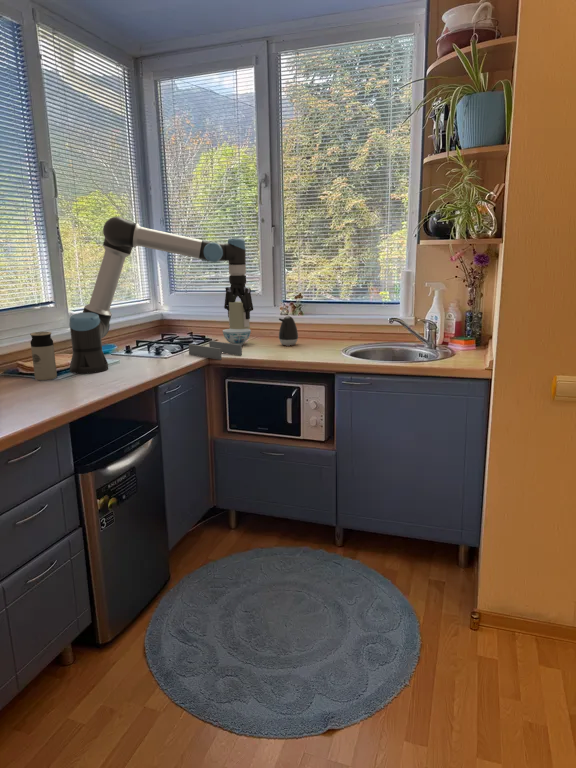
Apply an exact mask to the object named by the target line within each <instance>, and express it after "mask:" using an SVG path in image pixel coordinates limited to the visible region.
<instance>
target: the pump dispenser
mask: <svg viewBox="0 0 576 768" xmlns="http://www.w3.org/2000/svg"><path fill="white" fill-rule="evenodd" d="M278 320H279V321H280V322H281V324H280V326H279V330H278V340H279V342H280V344H281V345H282V346H284V345H286V347H287V346H288V347H291V346H290V345H292V346H295V345H296V344H297V342H298V339H299V331H298V327H297V325H296V321H295V320H294V318H293V317H292V316H289V315H288V316H287V315H286V316H285V317H284V318H280V317H279V318H278Z"/></svg>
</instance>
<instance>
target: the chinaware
mask: <svg viewBox="0 0 576 768" xmlns="http://www.w3.org/2000/svg"><path fill="white" fill-rule="evenodd" d="M251 332H252V330H251V329H250V328H248V329H230V328H226V329H222V335H223V336H224V339H225V340H226V341H227V343H231V344H238V345H242V346H244V343H246V341H247V340H248V339H249V337H250V335H251V334H252V333H251Z"/></svg>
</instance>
